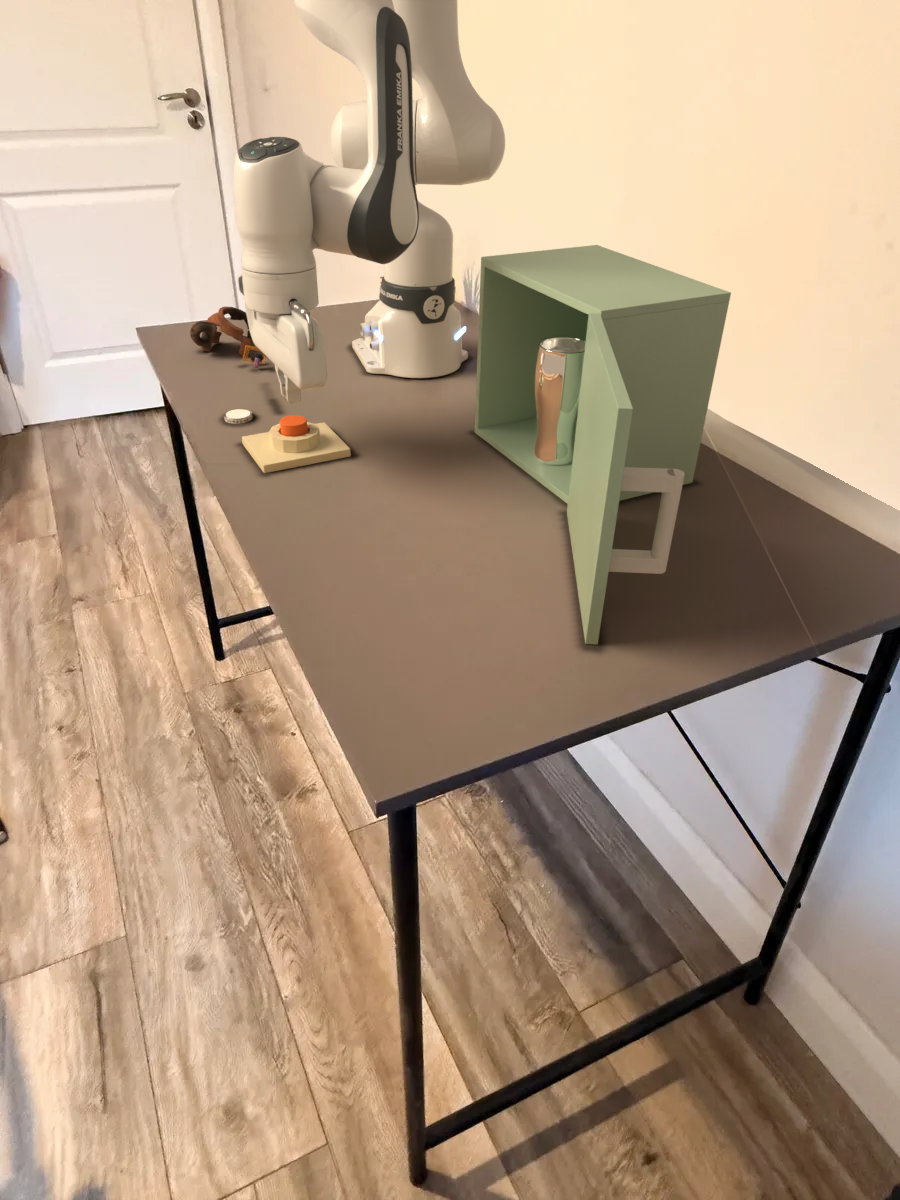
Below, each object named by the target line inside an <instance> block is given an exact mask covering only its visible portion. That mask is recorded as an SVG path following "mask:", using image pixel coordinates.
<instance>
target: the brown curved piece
mask: <svg viewBox="0 0 900 1200" xmlns="http://www.w3.org/2000/svg"><path fill="white" fill-rule="evenodd" d="M226 315H229V316H230V319H229V320H228V319H227V318H226ZM230 320H231V321H244V323H245V325H246V327H247V334H246V335H244V329H242V328H241V327H238V326H237V325H235V324H234V323H232V322H231V321H230ZM218 327H219V329H218ZM218 330H219V331H218ZM189 333H190V335H189V336H190V339H191V341H192V342H193V343H194V344H195V345H197V346H198V347H201V352H202V353H205V352H209V353H211V352H212V346H213V344H216V345H217V344H220V338H221V336H222V334H223V333H224V334H225V335H227V336H229V337H232V338H233V339H234V340H236V341H239V342H240V348H239V351H238V354H239V355H240V356H242V357H247V356H248V355H249V354H248V350H249V353H250V351H251V350H250V349H251V348H252V347H256V346H255V344H254V342H253V340H252V337H251V334H250V330H249V325H248V320H247V314H246V311H244V310H242V309H240V308H237V307H234V306H222V307H220V308H219V309H218V312H215V313H212V314H211V315H210V316H209V317H208V318H207V319H206V321H203V320H199V321H196V322H195V323H194V324H192V326H191V327H190V330H189ZM245 346H246V351H247V355H246V351H245ZM247 346H252V347H250V348H248V350H247ZM244 351H245V356H244Z"/></svg>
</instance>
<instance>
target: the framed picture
mask: <svg viewBox="0 0 900 1200" xmlns="http://www.w3.org/2000/svg"><path fill="white" fill-rule="evenodd" d="M250 347H252V346H247V350H248V348H250ZM251 350H252V351H256V352H257V353H252V356H251V358H249V353H250V352H249V350H248V354H247V351H246V346H245V351H246V355H247V356H245V351H244V356H242V361H245V362H249V363H253V368H255V369H258V368H259V366H260V365H265V363H266V358H267V356H266V355H265V354H264V353H263V352H262V351H261V350H260V349H259V348H258V347H257V346H254V347H252V348H251V349H250V351H251ZM258 352H262V353H258Z"/></svg>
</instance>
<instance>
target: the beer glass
mask: <svg viewBox="0 0 900 1200" xmlns="http://www.w3.org/2000/svg"><path fill="white" fill-rule="evenodd" d="M585 344H586V341H584V340H582V339H578V338H574V337H565V336H556V337H548V338H544V339H542V340H540V341H539V342H538V349H537V355H536V361H535V368H534V381H533V390H534V404H535V414H536V435H535V439H534V443H533V447H532V451H531V455H532V457H533V458H534V459H535V460H536V461H538V462H540V463H543V464H548V465H566V464H569V463H572V461H573V452H574V443H575V434H576V425H577V416H578V407H579V398H580V389H581V380H582V371H583V362H584V353H585Z"/></svg>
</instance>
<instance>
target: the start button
mask: <svg viewBox="0 0 900 1200" xmlns="http://www.w3.org/2000/svg"><path fill="white" fill-rule="evenodd" d="M307 422H308V419H307V418H306V417H305V416H303V415H295V414H294V415H293V414H291V415H286V416H284V417H282V418H280V420H279V423H280V429H281V434H282V435H284V436H287V437H297V436H302V435H305V434H307V433H308V426H307Z"/></svg>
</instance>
